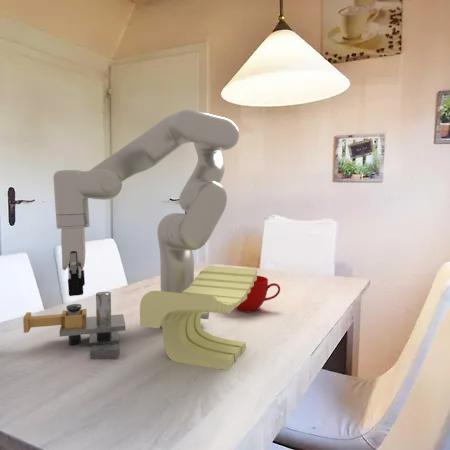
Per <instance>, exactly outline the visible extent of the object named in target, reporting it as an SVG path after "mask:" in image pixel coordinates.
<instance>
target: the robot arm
mask: <svg viewBox="0 0 450 450" xmlns="http://www.w3.org/2000/svg"><path fill="white" fill-rule="evenodd" d="M239 138H240V131H239V128H238V126H237V125H236V124H235V122H233V120H231V119H229V118H226V117H222V116H219V115H215V114H210V113H207V112H203V111H198V110H193V109H184V110H180V111H177V112H175V113H173V114H170V115H167V116H166V117H164V118H163V119H162V120H160V121H159V122H157V123H156V124H155V125H153V126H152V127H151V128H149V129H148V130H146V131H145V132H144V133H142V134H141V135H138V137H136V138H134V139H133V140H132V141H130V142H129V143H127V144H125V145H123V147H122V148H121V149H119V150H118V151H116V152H114V153H113V154H112V155H110V156H108V157H107V158H106V159H104V160H102V161H101V162H100V163H98V164H96V165H95V166H94V167H93V168H91V169H90V170H87V171H86V170H84V171H83V170H79V169H77V170H76V169H64V170H57V171H55V172H54V174H53V177H52V178H53V179H52V180H53V192H54V193H53V194H54V207H55V221H56V229H58V230H60V242H61V243H60V246H61V268H62V269H61V270H63V271H66V269H67V271H68V272H67V273H68V275H67V276H68V279H67V285H68V286H67V287H68V296H69V297H77V296H83V295H84V286H85V284H86V282H85V281H86V280H85V270H84V268H85V263H86V234H85V233H86V232H85V228H89V227H90V226H91V225H90V211H89V199H92V200H106V201H107V200H111V199H113V198H116V196H118V195H119V193H120V192H121V191H122V188H123V182H124V181H125V180H127V179H129V178H131V177H132V176H134V175H137V174H139V173H143V172H144V171H147V170H150V169H151V168H154V167H155V166H157V165H158V164H159V163H160V162H161V161H163V160H164V159H165V158H167V157H168V156H169V155H170V154H172V153H173V152H174V151H176V150H177V149H178V148H180V147H181V146H182V145H185V144H188V143H193V145H194V148H195V149H194V150H195V151H196V155H197V162H196V165H195V167H194V169H193V171H192V173H191V175H190V177H189V178H188V180H187V182H186V183H185V185H184V186H183V188H182V190H181V192H180V195H179V199H178V201H179V202H178V203H179V206H180V208H181V209H182V210H183V211H184V212H186V213H178V212H173V213H169V214H167V215H165V216H164V217H162V218H161V220H160V221H159V223H158V225H157V230H156V231H157V241H158V248H159V255H160V256H159V257H160V258H159V259H160V260H159V262H160V269H159V270H160V291H164V292H174V293H182V292H183V291H184V290H186V289H187V288H189V286H190V284H191V283H192V282H194V280H195V261H194V260H195V258H194V252H193V251H196V250H198V249H201V248H203V247H204V246H205V245H206V244H207V242H208V241H209V239H210V238H211V236H212V234H213V233H214V231H215V228H217V227H216V226H217V225H218V224H219V222H220V220H221V218H222V216H223V214H224V212H225V210H226V206H227V199H228V197H227V196H228V195H227V192H226V190H225V187H224V186H223V185H222V184H221V181H222V179H223V177H224V174H225V161H224V158H223V154H222V152H223V151H227V150H231V149H232V148H234V147H235V146H236V145H237V143H238V141H239ZM209 313H210V312H202V314H201V320H209V317H210V314H209ZM160 328H161V329H162V326H161V327H160Z"/></svg>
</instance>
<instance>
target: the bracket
mask: <svg viewBox="0 0 450 450" xmlns="http://www.w3.org/2000/svg"><path fill="white" fill-rule="evenodd" d="M87 313H88V312H87V308H83V309H82V308H81V309H80V315H68V310H67V309H66V310H62V312H61V313H60V314H48V315H34V316H33V315H32V312H31V311H29V312H25V314H24V316H23V317H22V318H23V319H22V320H23V323H22V324H23V333H26V334H27V333H29V332H30V330H31V329H33V328H43V327H54V326H55V327H56V326H60V328H61V329H63V328H74V327H85V326H86V321H87V317H88V316H87V315H88V314H87Z"/></svg>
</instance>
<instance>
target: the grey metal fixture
mask: <svg viewBox="0 0 450 450" xmlns="http://www.w3.org/2000/svg"><path fill="white" fill-rule="evenodd" d="M95 313H96V314H95V316H87V321H86V326H85V327H74V328H63V329H61V327H60V328H59V332H58V333H59V337H60V338H61V337H69V336H72V335H81V336H82V335H89V339H88V340H89V344H88V346H89V347H93V346H103V345H115V344H116V345H117V344H120V337H119V332H121V331H122V332H124V331H126V322H125V317H124V314H112V292H110V291H99V292H96V293H95Z"/></svg>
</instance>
